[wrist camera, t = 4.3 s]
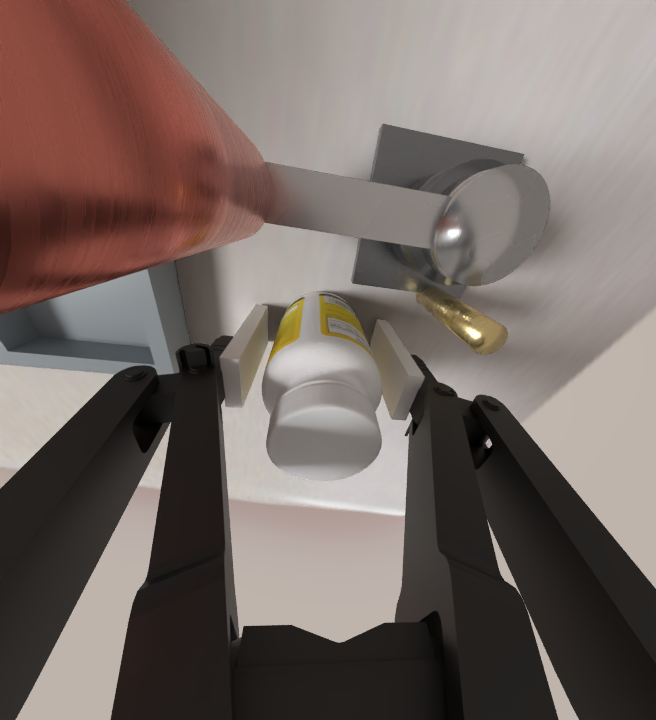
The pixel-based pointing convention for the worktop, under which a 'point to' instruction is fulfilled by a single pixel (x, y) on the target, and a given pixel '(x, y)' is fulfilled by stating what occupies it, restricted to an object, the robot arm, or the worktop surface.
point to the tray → (102, 326)
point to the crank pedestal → (407, 263)
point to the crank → (189, 169)
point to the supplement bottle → (322, 391)
